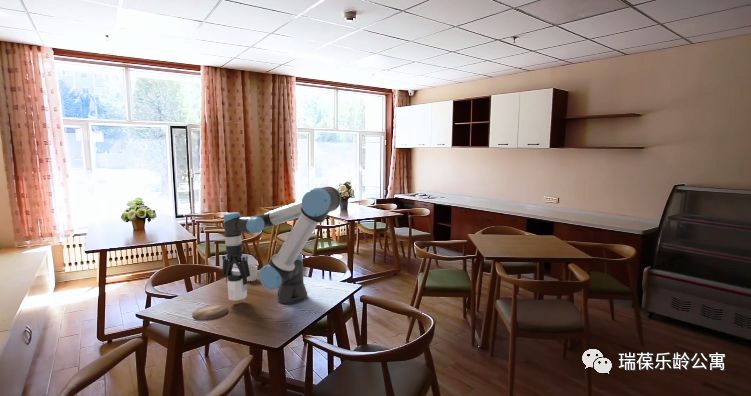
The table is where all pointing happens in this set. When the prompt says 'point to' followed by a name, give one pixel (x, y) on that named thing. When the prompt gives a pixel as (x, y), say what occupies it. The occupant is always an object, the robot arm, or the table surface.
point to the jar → (235, 287)
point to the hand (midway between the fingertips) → (237, 290)
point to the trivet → (210, 312)
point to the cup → (252, 273)
